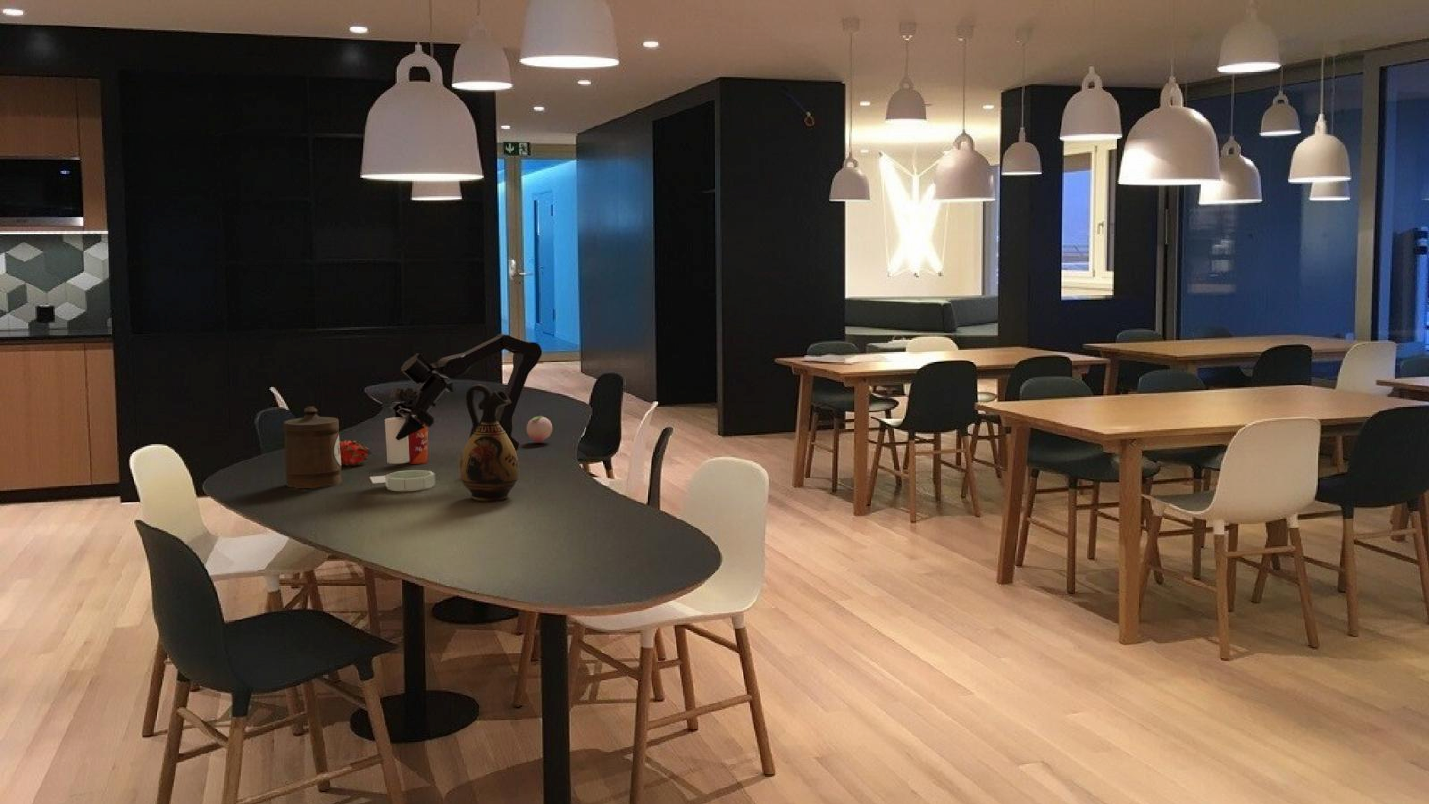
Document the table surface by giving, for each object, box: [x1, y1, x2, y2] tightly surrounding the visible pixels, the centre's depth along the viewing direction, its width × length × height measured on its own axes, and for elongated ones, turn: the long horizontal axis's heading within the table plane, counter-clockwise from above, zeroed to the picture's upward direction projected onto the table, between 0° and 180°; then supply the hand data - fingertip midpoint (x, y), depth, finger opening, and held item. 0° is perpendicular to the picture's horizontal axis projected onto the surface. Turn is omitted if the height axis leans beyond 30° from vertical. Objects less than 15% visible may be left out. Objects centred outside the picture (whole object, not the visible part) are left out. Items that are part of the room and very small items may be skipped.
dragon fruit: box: [339, 439, 372, 467], centre depth 379 cm, size 8×8×12 cm
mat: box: [369, 475, 386, 484], centre depth 355 cm, size 10×10×1 cm
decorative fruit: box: [526, 413, 553, 444], centre depth 413 cm, size 9×8×10 cm
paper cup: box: [407, 424, 429, 465], centre depth 381 cm, size 8×8×14 cm
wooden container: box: [283, 406, 343, 489], centre depth 349 cm, size 15×15×22 cm
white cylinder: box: [384, 417, 409, 464], centre depth 346 cm, size 6×6×12 cm
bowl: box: [384, 469, 436, 492], centre depth 343 cm, size 13×13×4 cm
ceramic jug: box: [459, 383, 520, 503], centre depth 327 cm, size 17×15×30 cm
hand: (392, 437), depth 345 cm, fingers closed on white cylinder, 6 cm apart
